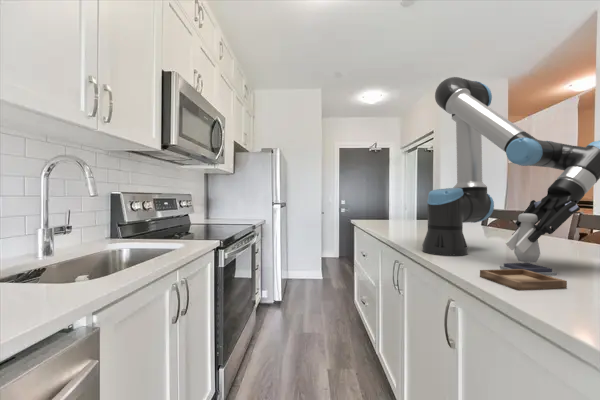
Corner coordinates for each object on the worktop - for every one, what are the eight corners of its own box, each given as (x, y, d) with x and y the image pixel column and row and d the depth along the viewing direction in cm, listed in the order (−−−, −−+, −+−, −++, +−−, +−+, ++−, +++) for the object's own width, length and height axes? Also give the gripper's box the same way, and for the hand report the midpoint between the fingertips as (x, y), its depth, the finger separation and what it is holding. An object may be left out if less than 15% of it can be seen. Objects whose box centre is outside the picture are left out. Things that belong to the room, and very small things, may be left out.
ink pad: (499, 268, 92) (499, 262, 92) (528, 267, 93) (528, 262, 93) (525, 275, 83) (525, 270, 83) (556, 274, 84) (557, 269, 84)
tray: (479, 276, 82) (480, 269, 82) (522, 275, 84) (522, 268, 84) (517, 290, 70) (517, 282, 70) (566, 288, 72) (566, 280, 72)
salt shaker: (531, 259, 91) (532, 213, 91) (545, 263, 85) (546, 214, 85) (509, 258, 92) (510, 212, 91) (521, 263, 86) (522, 214, 86)
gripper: (609, 197, 82) (549, 263, 80) (552, 196, 98) (500, 251, 96) (591, 176, 81) (530, 242, 79) (537, 178, 97) (484, 234, 95)
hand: (514, 247), depth 88 cm, fingers closed on salt shaker, 3 cm apart
